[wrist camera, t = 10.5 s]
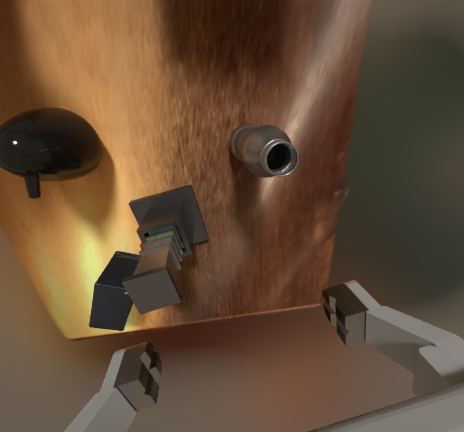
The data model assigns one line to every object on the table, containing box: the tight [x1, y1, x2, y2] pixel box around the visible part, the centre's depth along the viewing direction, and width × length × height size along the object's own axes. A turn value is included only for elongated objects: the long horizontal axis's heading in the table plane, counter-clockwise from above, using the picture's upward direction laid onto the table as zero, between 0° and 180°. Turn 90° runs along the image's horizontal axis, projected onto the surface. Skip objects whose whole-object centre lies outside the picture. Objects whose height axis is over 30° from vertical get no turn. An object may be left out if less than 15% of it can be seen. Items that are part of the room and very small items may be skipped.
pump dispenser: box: [0, 108, 102, 199], centre depth 30 cm, size 10×10×15 cm
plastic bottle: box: [229, 124, 299, 178], centre depth 32 cm, size 6×7×20 cm
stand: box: [129, 185, 209, 257], centre depth 41 cm, size 12×12×10 cm
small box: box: [89, 251, 141, 331], centre depth 44 cm, size 11×6×10 cm, turn 161°
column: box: [122, 225, 184, 314], centre depth 33 cm, size 5×5×15 cm
